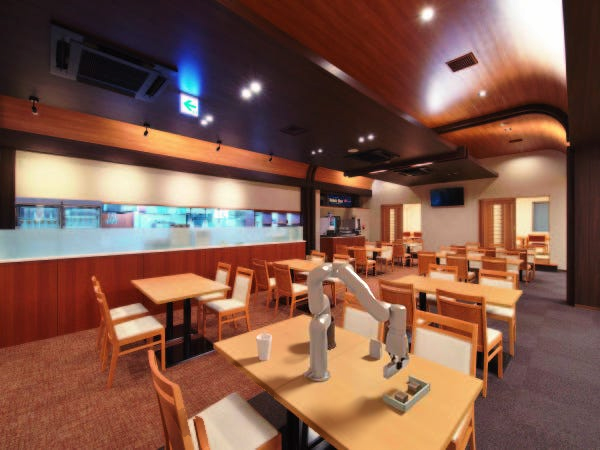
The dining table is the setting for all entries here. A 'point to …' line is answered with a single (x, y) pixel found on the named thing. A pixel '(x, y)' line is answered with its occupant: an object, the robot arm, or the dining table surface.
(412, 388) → the small brown block
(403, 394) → the crust left
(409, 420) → the dining table surface
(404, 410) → the grey u-shaped bracket
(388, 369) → the long grey plank
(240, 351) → the dining table surface
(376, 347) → the pale brown block
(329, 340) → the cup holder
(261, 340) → the foam cup
